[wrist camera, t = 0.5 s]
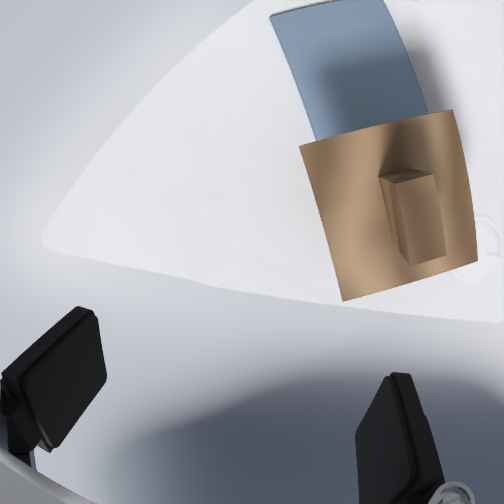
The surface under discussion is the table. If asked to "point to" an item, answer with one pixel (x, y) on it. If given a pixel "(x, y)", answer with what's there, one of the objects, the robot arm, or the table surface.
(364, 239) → the walnut lid
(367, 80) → the slate mat
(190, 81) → the table surface
